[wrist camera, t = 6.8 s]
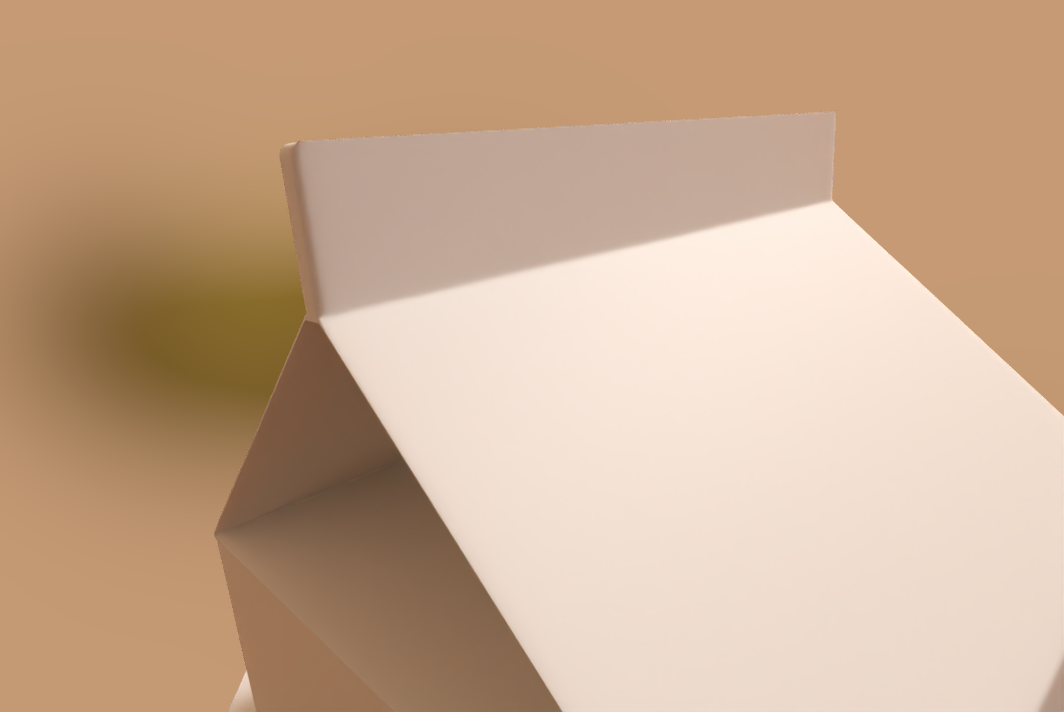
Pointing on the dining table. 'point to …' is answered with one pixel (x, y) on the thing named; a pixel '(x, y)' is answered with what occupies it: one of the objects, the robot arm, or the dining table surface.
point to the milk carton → (634, 443)
